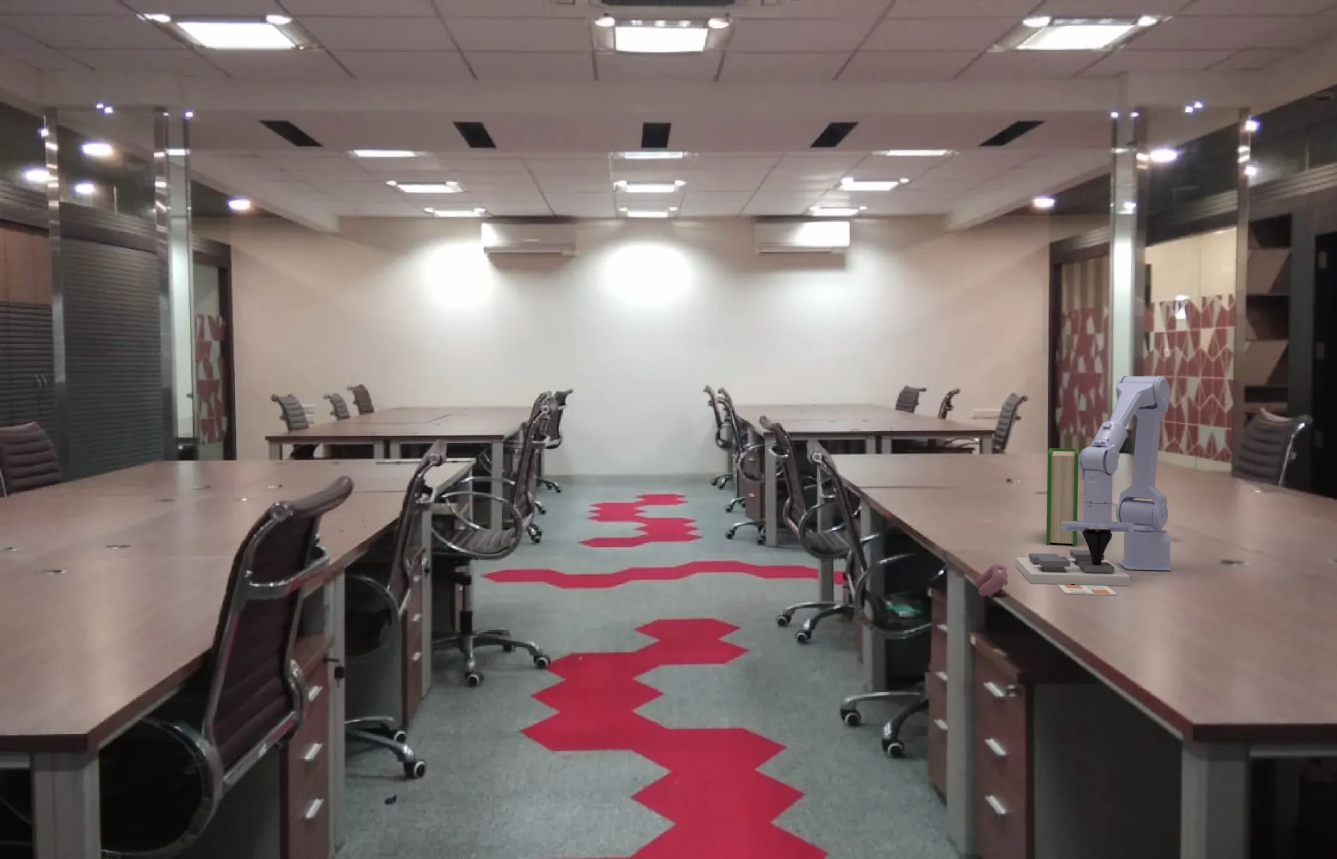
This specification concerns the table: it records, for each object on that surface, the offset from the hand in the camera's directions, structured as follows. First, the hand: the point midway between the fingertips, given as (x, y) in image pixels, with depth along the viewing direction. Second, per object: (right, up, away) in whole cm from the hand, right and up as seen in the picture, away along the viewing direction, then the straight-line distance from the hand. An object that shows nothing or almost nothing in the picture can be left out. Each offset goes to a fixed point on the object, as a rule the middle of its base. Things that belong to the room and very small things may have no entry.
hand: (1096, 564), depth 229 cm
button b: (-7, -2, +11) cm, 13 cm away
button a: (+1, -2, +9) cm, 9 cm away
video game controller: (-26, -5, -11) cm, 29 cm away
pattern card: (-6, -4, -10) cm, 13 cm away
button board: (-4, -3, +5) cm, 7 cm away
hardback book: (+12, -1, +52) cm, 54 cm away
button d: (-9, -2, +2) cm, 9 cm away
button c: (0, -3, 0) cm, 3 cm away
